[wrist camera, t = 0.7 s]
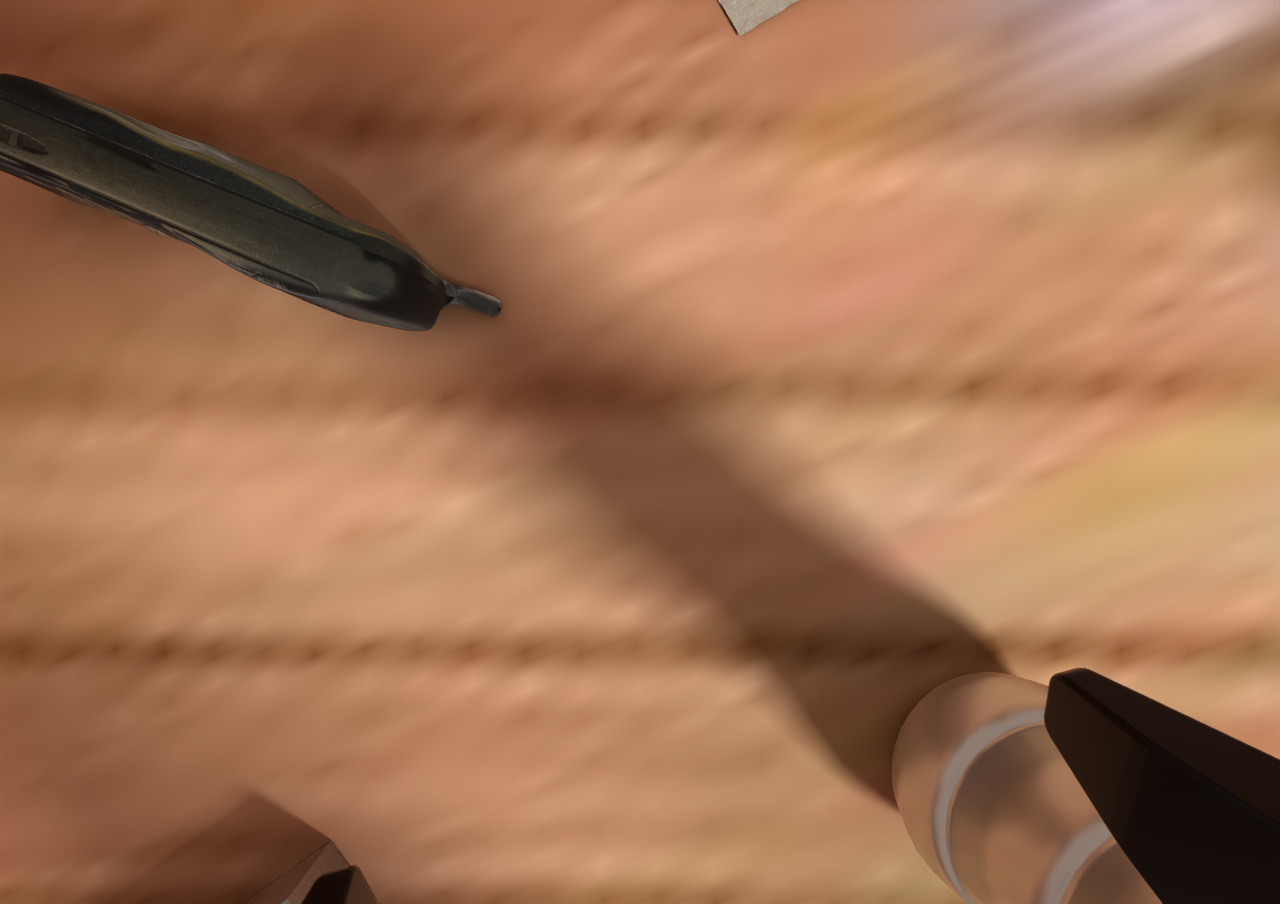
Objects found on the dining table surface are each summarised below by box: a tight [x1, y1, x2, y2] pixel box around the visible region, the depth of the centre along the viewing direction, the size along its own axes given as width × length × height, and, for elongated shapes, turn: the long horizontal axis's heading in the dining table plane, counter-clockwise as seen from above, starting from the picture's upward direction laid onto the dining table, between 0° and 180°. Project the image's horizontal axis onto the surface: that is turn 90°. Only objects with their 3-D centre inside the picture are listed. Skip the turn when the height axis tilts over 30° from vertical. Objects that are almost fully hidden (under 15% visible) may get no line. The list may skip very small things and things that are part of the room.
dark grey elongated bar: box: [0, 74, 502, 331], centre depth 21 cm, size 5×3×15 cm
